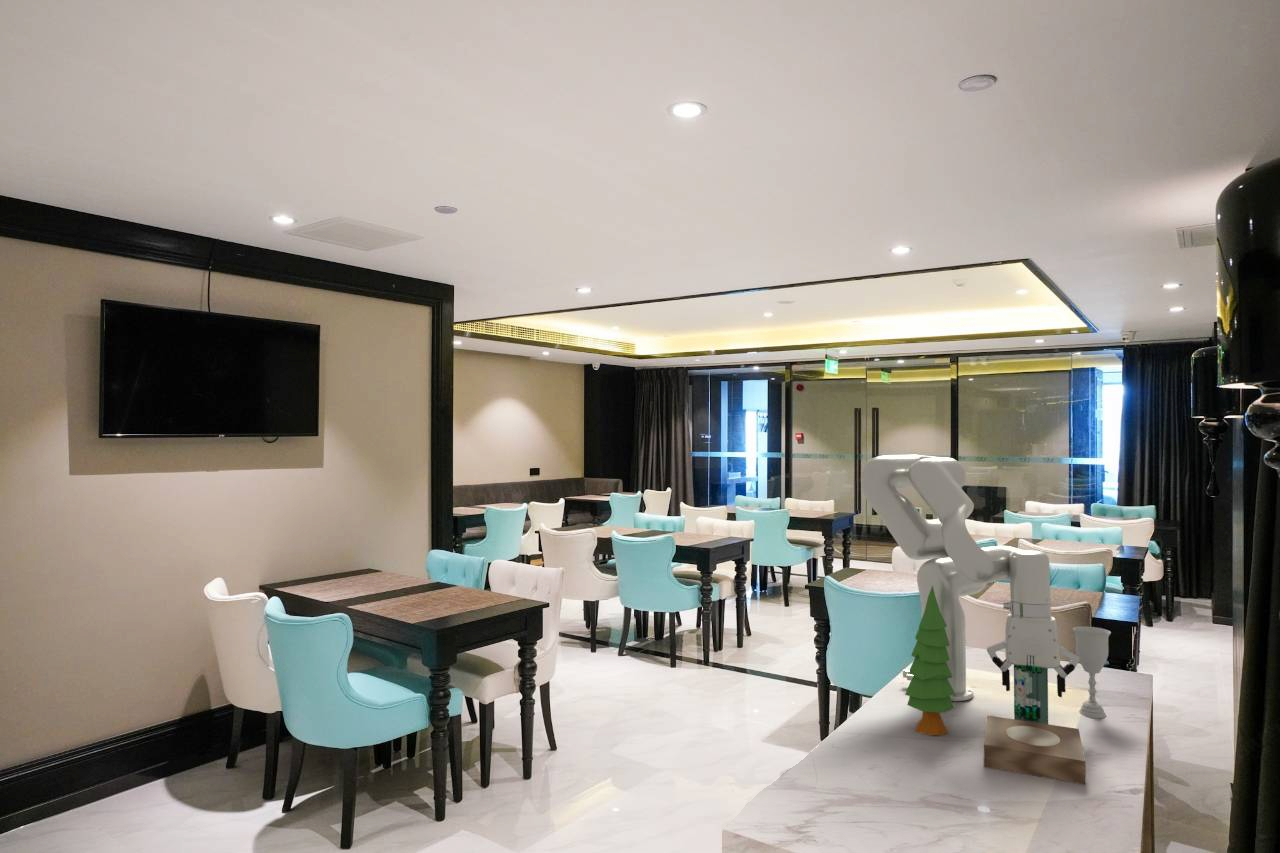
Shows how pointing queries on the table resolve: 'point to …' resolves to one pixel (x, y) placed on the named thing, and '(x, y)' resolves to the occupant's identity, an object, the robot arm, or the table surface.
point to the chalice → (1092, 662)
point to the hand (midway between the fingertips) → (1033, 692)
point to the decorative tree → (931, 671)
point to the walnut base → (1034, 749)
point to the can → (1031, 693)
